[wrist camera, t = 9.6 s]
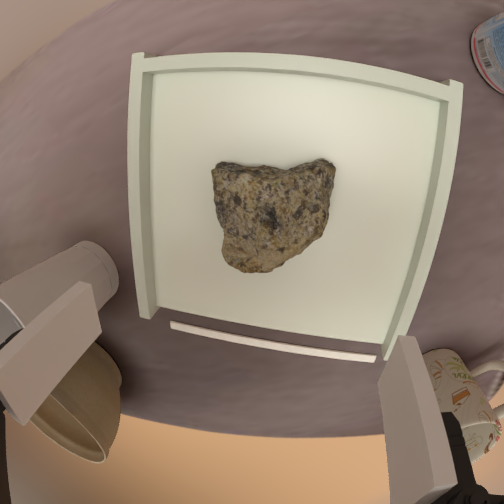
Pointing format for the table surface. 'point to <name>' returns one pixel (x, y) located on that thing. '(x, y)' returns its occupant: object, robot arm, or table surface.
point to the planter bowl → (84, 407)
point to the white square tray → (285, 157)
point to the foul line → (273, 343)
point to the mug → (465, 399)
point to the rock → (270, 211)
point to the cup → (55, 284)
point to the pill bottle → (490, 51)
